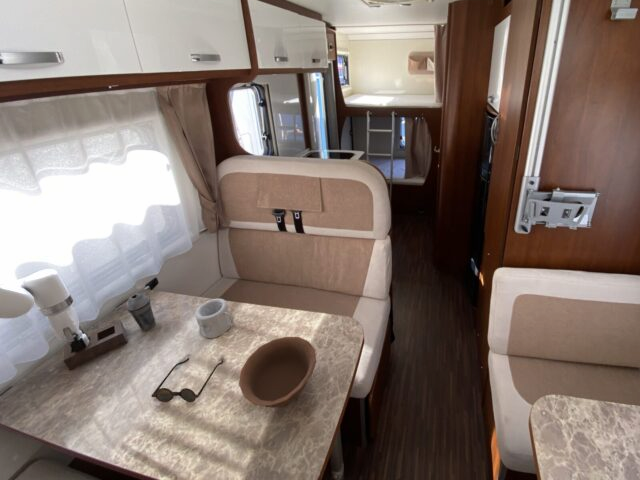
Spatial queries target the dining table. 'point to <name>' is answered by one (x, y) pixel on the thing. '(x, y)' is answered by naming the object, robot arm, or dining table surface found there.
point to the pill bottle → (83, 337)
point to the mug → (214, 318)
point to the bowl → (277, 371)
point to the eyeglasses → (185, 393)
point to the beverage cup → (141, 310)
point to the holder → (96, 345)
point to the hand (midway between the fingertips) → (80, 344)
